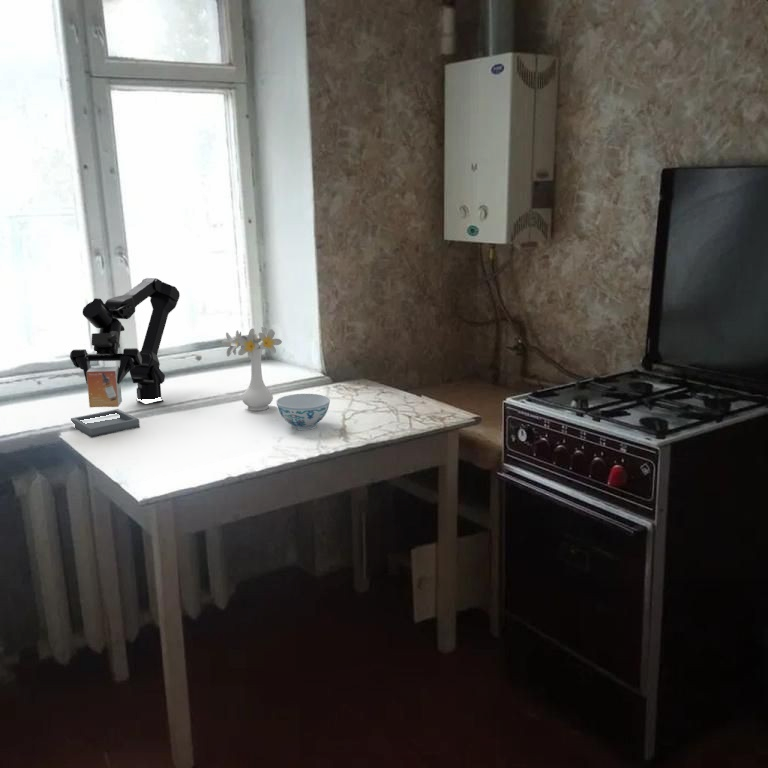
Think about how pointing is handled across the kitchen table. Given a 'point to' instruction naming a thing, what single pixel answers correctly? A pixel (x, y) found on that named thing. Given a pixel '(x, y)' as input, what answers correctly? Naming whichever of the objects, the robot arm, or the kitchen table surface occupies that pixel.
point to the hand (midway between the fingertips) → (102, 383)
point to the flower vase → (254, 364)
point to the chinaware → (303, 409)
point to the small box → (104, 387)
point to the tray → (106, 423)
